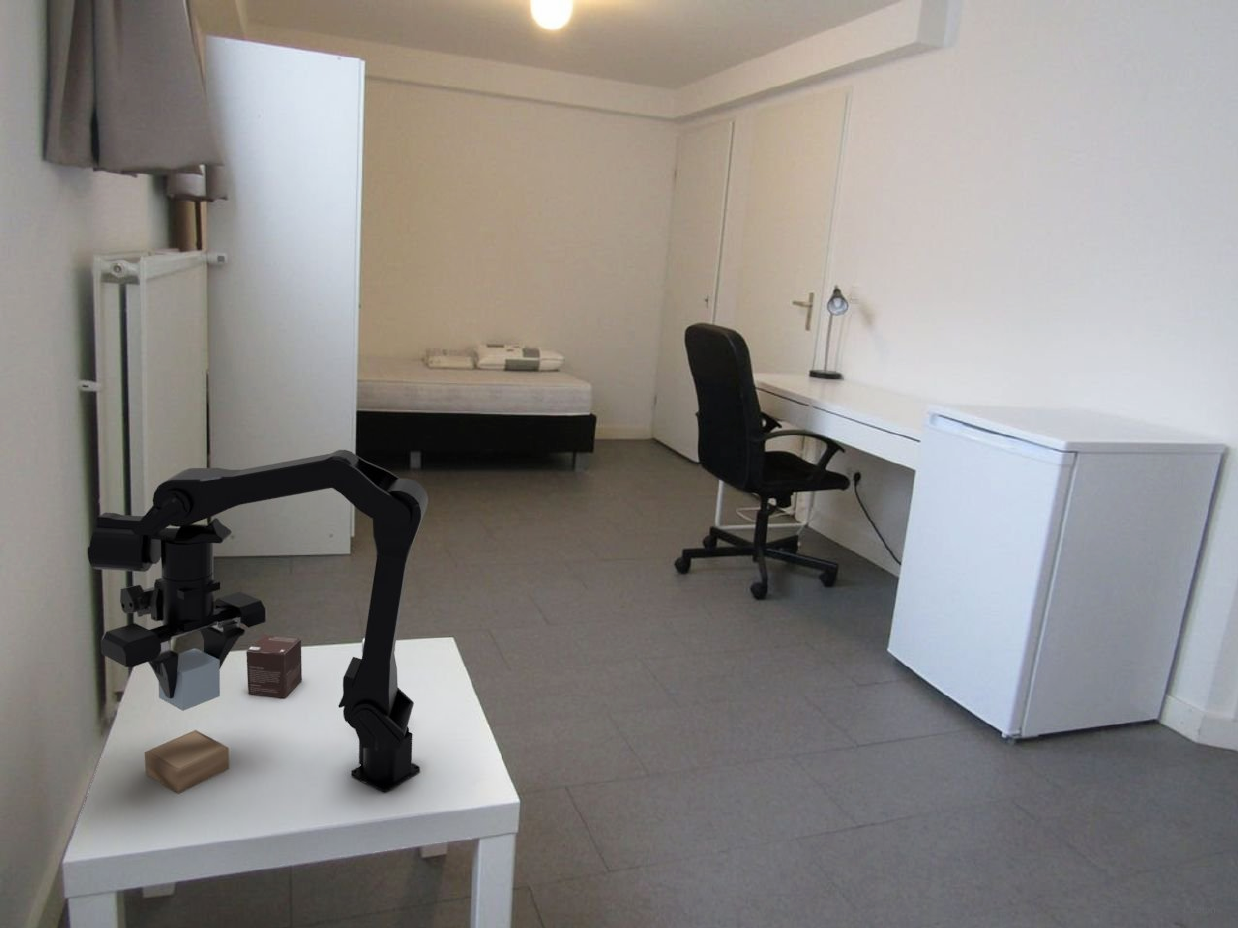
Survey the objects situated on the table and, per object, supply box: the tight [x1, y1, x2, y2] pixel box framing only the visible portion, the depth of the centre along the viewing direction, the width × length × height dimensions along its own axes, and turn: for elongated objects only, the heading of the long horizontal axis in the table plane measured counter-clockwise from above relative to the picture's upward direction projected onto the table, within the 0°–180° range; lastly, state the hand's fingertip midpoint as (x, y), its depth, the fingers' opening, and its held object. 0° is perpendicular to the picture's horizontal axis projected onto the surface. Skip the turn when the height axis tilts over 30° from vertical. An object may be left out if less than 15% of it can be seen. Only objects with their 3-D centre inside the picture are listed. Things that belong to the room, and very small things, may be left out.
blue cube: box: [158, 647, 221, 712], centre depth 111 cm, size 5×5×5 cm
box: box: [245, 634, 303, 698], centre depth 136 cm, size 6×6×7 cm
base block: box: [144, 729, 230, 794], centre depth 114 cm, size 7×7×3 cm
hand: (189, 689), depth 111 cm, fingers closed on blue cube, 5 cm apart
